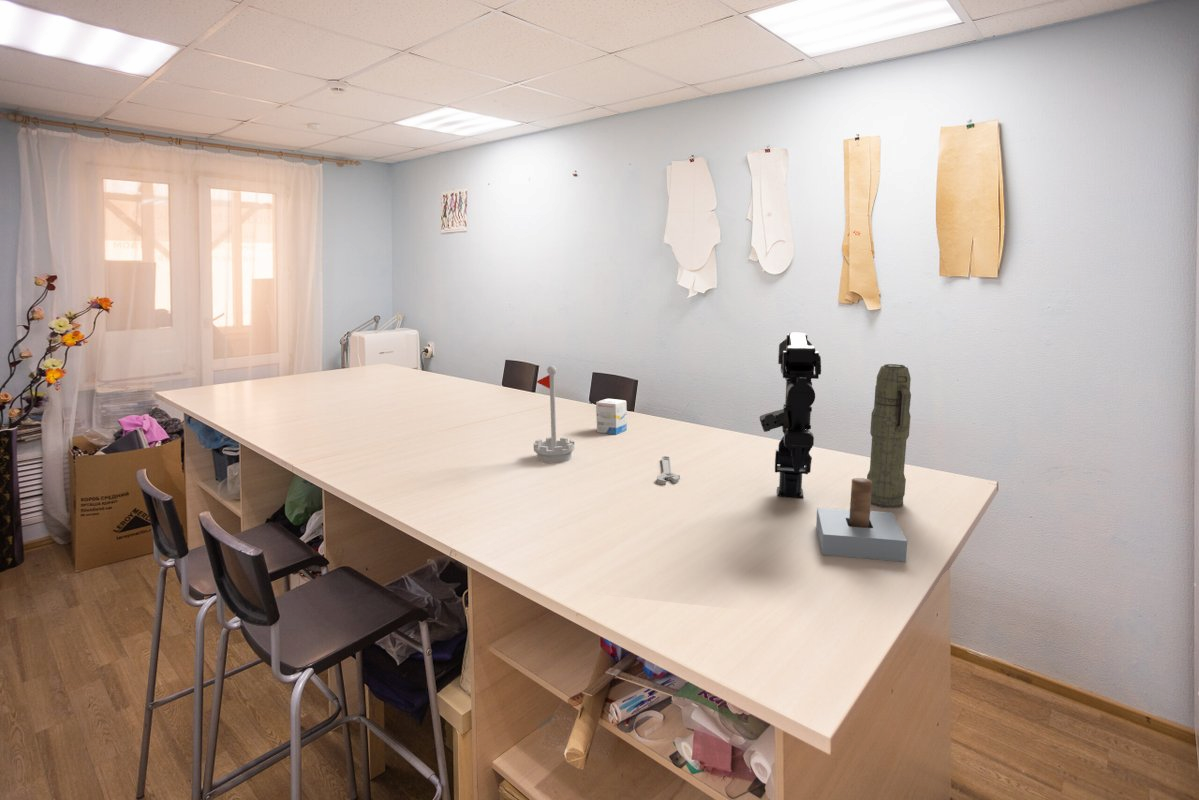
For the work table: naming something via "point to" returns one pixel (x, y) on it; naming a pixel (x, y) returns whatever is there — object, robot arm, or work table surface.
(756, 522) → the work table surface
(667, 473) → the adjustable wrench
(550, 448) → the flag stand
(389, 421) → the work table surface
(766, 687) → the work table surface
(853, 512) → the pin
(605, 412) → the ink box
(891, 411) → the thermos
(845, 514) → the hole block
